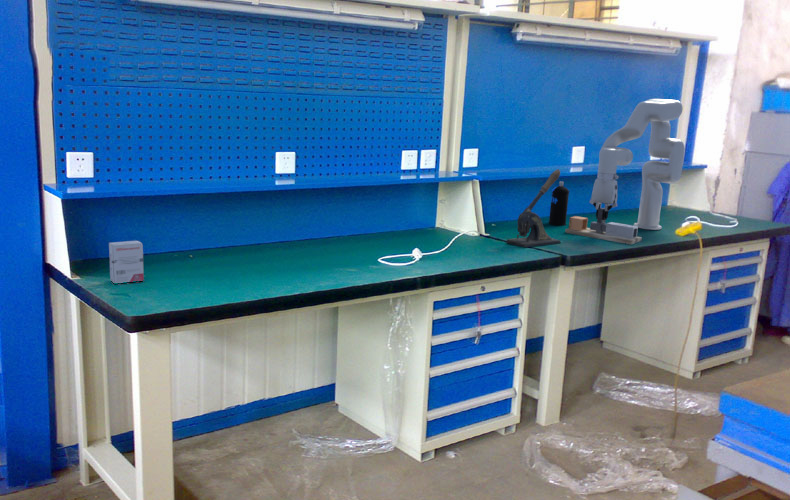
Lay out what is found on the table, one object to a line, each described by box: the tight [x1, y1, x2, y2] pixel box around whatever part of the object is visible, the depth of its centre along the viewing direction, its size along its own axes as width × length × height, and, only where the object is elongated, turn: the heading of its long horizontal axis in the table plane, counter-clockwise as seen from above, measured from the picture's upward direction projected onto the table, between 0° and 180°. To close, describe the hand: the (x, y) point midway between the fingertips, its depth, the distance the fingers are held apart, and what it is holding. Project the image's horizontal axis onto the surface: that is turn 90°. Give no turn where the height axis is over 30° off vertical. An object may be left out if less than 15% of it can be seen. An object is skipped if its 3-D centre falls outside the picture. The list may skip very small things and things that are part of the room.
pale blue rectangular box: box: [605, 221, 639, 239], centre depth 313 cm, size 5×12×5 cm, turn 51°
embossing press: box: [505, 169, 561, 248], centre depth 294 cm, size 11×24×30 cm, turn 126°
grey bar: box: [589, 207, 607, 233], centre depth 316 cm, size 4×16×10 cm, turn 51°
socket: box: [568, 215, 589, 231], centre depth 325 cm, size 6×6×5 cm
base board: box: [565, 227, 643, 245], centre depth 319 cm, size 12×30×2 cm, turn 51°
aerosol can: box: [547, 181, 570, 227], centre depth 340 cm, size 8×8×20 cm
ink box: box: [108, 240, 145, 284], centre depth 212 cm, size 9×5×12 cm, turn 124°
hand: (601, 218), depth 318 cm, fingers closed on grey bar, 2 cm apart
